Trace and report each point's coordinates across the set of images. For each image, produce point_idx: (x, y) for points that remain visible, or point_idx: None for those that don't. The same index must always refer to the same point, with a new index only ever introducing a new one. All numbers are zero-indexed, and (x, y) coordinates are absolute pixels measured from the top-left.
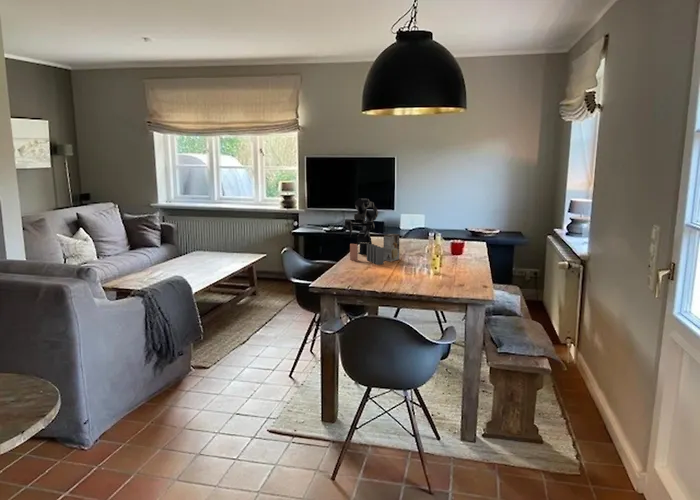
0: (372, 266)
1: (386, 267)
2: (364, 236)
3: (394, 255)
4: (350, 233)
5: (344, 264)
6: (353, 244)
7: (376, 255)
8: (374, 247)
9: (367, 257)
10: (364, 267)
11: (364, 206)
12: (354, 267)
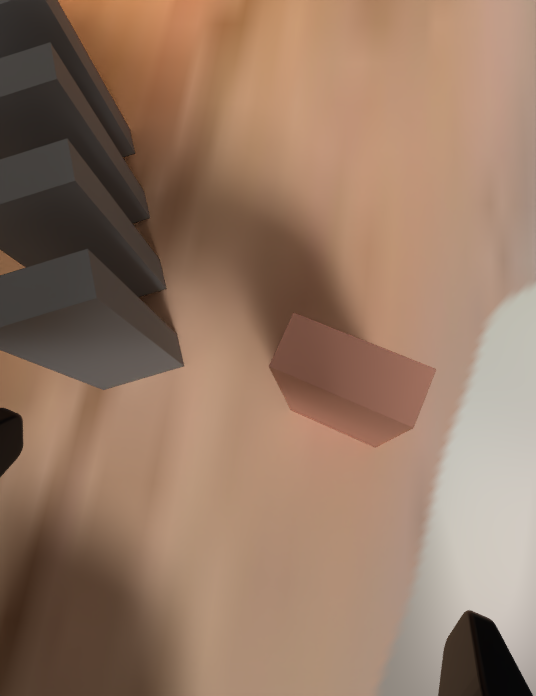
0: (188, 60)
1: (76, 23)
2: (19, 429)
3: None
4: (500, 687)
5: (466, 152)
6: (360, 340)
7: (88, 64)
8: (43, 50)
9: (167, 336)
10: (270, 22)
11: None
12: (365, 22)
